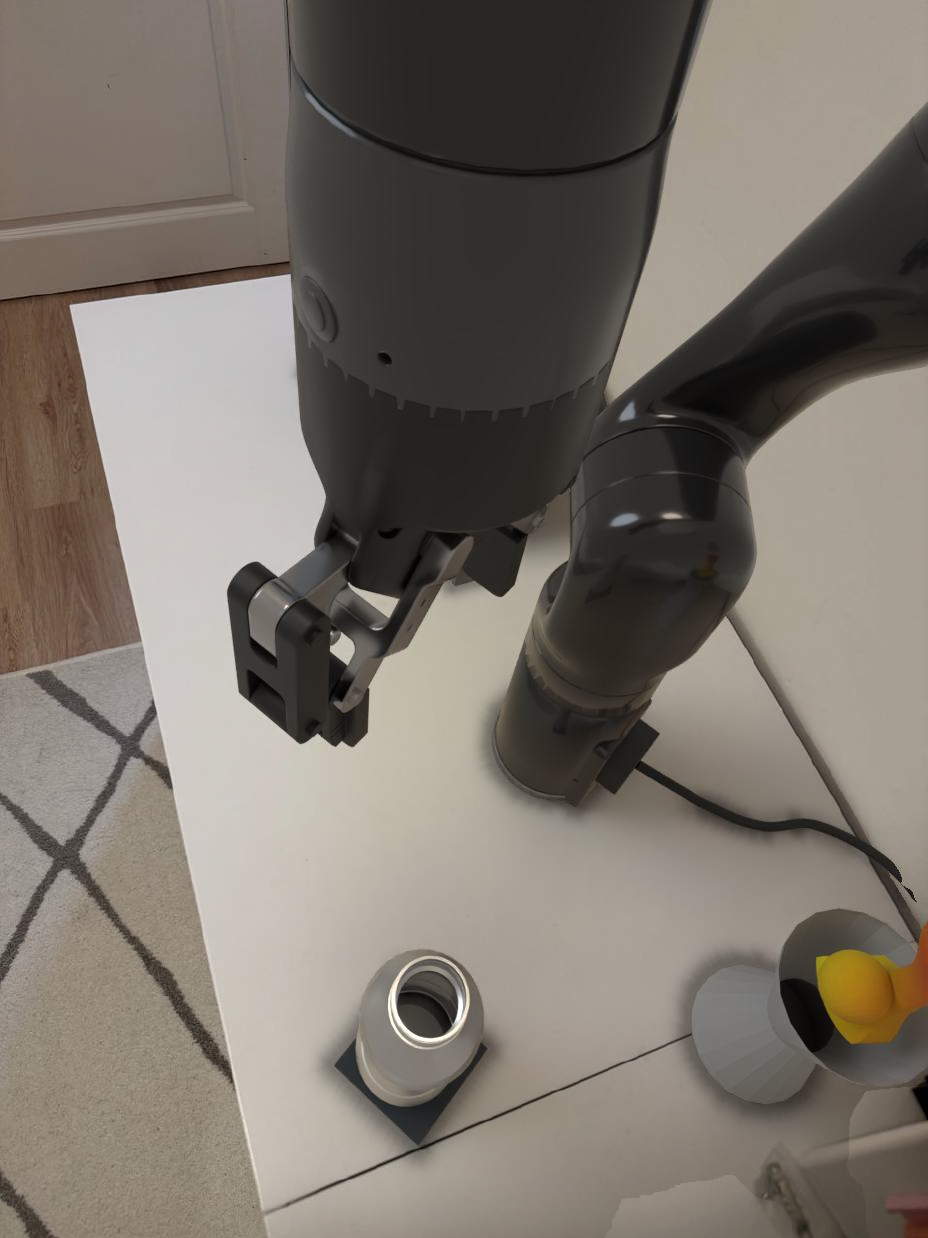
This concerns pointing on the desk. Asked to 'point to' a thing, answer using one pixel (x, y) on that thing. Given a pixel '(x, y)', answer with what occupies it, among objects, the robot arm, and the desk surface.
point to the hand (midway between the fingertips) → (417, 648)
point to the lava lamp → (818, 1010)
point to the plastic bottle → (418, 1026)
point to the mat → (407, 1118)
